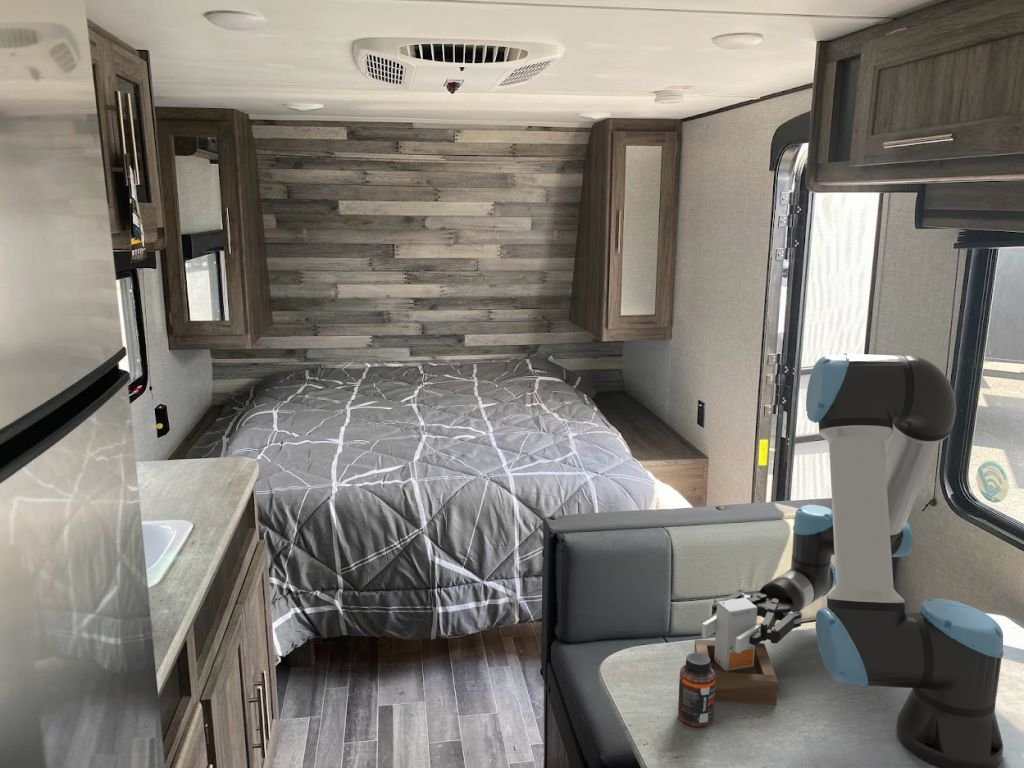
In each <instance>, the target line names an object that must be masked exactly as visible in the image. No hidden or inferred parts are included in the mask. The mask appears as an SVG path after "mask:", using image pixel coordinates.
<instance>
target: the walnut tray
mask: <svg viewBox="0 0 1024 768" xmlns="http://www.w3.org/2000/svg"><path fill="white" fill-rule="evenodd" d="M693 653H703V654H705V655H707V656H708V657H709V658H710V665H711V666H710V667H711V668H712V669H713V671H714V672H715V696H714V702H715V701H716V702H728V703H729V702H730V703H743V704H746V703H747V704H759V705H774V706H775V705H776V706H777V704H778V703H777V702H778V685H779V681H778V678H777V676H776V672H775V669H774V667H773V663H772V660H771V658H770V656H769V652H768V650H767V648H766V645H765V643H763V642H760V643H758V644H757V645H755V654H754V666H753V667H747V668H741V669H736V670H730V671H725V670H724V669H723V668H722V667H721V666H720V665H719V664H718V663H717V662H716V661H715V660H714V656H715V639H697V638H695V639H694V652H693Z"/></svg>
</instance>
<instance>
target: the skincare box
mask: <svg viewBox="0 0 1024 768" xmlns="http://www.w3.org/2000/svg"><path fill="white" fill-rule="evenodd" d="M716 602H717V617H716V632H715V635H714V636H715V639H714V640H715V656H714V660H715V661H716V662H717V663H718V664H719V665H720V666H721V667H722V668H723V669H724V670H725V671H730V670H736V669H741V668H747V667H753V666H754V654H755V645H751V646H749V647H748V648H746V649H745V650H743V651H742V652H740V653H737V652H735V644H736V637H738V636H740V635H741V634H743V633H744V632H746V631H747V630H749V629H750V628H752V627H753V626H755V625H757V623H758V622H757V620H758V619H757V618H758V616H757V607H756V606H755V605H754V604H753V603H751V602H750V601H749V600H748V599H747V598H740V599H730V600H727V601H721V602H718V601H716Z"/></svg>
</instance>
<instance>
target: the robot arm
mask: <svg viewBox="0 0 1024 768" xmlns="http://www.w3.org/2000/svg"><path fill="white" fill-rule="evenodd" d="M956 401H957V399H956V395H955V392H954V389H953V387H952V384H951V382H950V380H949V379H948V377H947V376H946V375H945V373H943V371H942V370H941V369H940V368H939V367H938V366H937V365H935V364H933V363H932V362H931V361H930V360H927V359H926V358H922V357H920V356H917V355H911V354H898V355H897V354H893V355H891V354H888V355H887V354H855V353H844V354H832V355H831V354H829V355H828V354H827V355H825V356H824V355H823V356H822V357H820V358H819V359H818V360H817V361H816V363H815V364H814V366H813V368H812V370H811V373H810V376H809V378H808V383H807V388H806V396H805V410H806V416H807V419H808V420H809V421H810V422H813V423H815V424H816V423H818V434H819V435H820V436H821V437H822V438H823V439H824V440H826V441H827V444H828V447H829V449H828V450H829V467H830V468H829V469H830V470H829V472H830V488H831V489H830V491H831V492H830V493H831V507H832V508H829V507H827V506H824V505H818V504H803V505H802V506H800V507H798V508H797V509H796V511H795V515H794V520H793V527H792V551H791V560H790V561H791V562H790V569H789V570H787V571H786V572H783V573H782V574H781V575H779V576H777V577H776V578H774V579H772V580H771V581H769V582H767V583H766V584H764V585H763V586H762V587H761V588H760V589H759V591H758V592H757V593H756V592H755V593H752V594H751V595H749V594H745V593H744V590H743V589H737V590H736V591H735V593H733V594H731V595H729V596H727V597H725V598H722V599H720V600H718V601H716V602H714V603H712V604H711V606H712V607H711V615H710V616H709V617H708V618H707V620H705V621H704V622H702V623H701V638H703V639H707V638H708V637H710V636H711V635H713V634H714V633H715V634H716V617H717V602H721V601H727V600H730V599H740V598H747V599H748V600H749V601H750V602H751V603H753V604H754V605H755V606H756V607H757V617H762V618H763V620H762V622H760V625H757V624H756V625H755V626H753V627H752V628H750V629H749V630H747V631H746V632H744V633H743V634H741V635H740V636H738V637H736V644H735V652H737V653H740V652H742V651H743V650H745V649H746V648H748V647H749V646H751V645H757V644H758V643H762V642H766V641H767V640H768V641H770V643H772V644H774V645H775V644H778V643H779V642H780V641H781V640H783V639H784V638H785V637H786V636H787V635H788V634H790V632H791V631H793V629H797V628H798V627H801V625H802V616H803V613H802V612H801V611H802V610H804V609H806V608H807V607H808V606H809V605H811V604H813V603H814V602H815V601H817V600H819V599H821V598H822V597H824V596H826V606H823V607H822V608H819V609H818V610H817V611H816V615H815V619H816V621H815V634H816V640H817V645H818V649H819V650H818V651H819V653H820V656H821V659H822V662H823V664H824V666H825V669H826V670H827V672H828V674H829V676H830V677H831V678H832V679H833V680H834V681H836V682H838V683H840V684H844V685H852V686H860V687H862V688H867V687H886V688H902V689H911V691H910V692H909V694H908V696H907V698H906V699H905V701H904V703H903V705H902V707H901V709H900V711H899V713H898V714H897V718H896V726H895V731H896V732H895V733H896V735H897V738H898V740H899V741H900V744H901V745H903V746H904V747H905V748H906V749H907V751H909V752H910V753H911V754H912V755H914V756H915V757H917V758H918V759H920V760H922V761H924V762H926V763H928V764H930V765H933V766H934V767H937V768H999V766H1001V764H1002V761H1003V754H1004V744H1003V743H1004V741H1003V739H1002V735H1001V732H1000V728H999V723H998V720H997V716H996V711H995V710H996V704H997V703H996V702H997V694H998V686H999V681H1000V672H1001V667H1002V659H1003V657H1004V633H1003V632H1004V631H1003V630H1002V628H1001V626H1000V624H999V623H998V622H997V621H996V620H995V619H994V618H993V617H992V616H990V615H988V614H987V613H985V612H983V611H982V610H979V608H978V609H977V608H975V607H973V606H970V605H968V604H966V603H962V602H959V601H956V600H951V599H947V598H946V599H945V598H940V597H939V598H937V597H935V598H934V597H933V598H928V599H925V600H923V601H922V602H921V604H920V605H919V611H906V602H905V601H906V600H905V599H904V598H903V597H902V596H901V595H900V594H899V593H898V592H897V591H896V589H895V588H894V576H893V560H892V558H894V557H895V558H899V557H902V558H903V557H907V556H908V554H910V553H911V550H912V547H913V545H912V544H913V533H912V532H913V531H912V529H911V526H910V524H909V522H907V521H908V518H909V516H910V513H911V511H912V509H913V506H914V505H915V502H916V499H917V496H918V494H919V491H920V490H921V487H922V484H923V482H924V479H925V476H926V474H927V472H928V470H929V467H930V466H931V465H930V464H931V462H932V460H933V457H934V455H935V453H936V451H937V448H938V445H939V443H940V442H941V441H944V440H945V439H946V438H948V436H949V435H950V433H951V431H952V429H953V426H954V424H955V420H956V416H957V403H956ZM889 437H890V439H889V442H888V444H887V447H886V450H885V442H886V440H887V439H888V438H889ZM832 556H834V564H833V563H832ZM833 588H834V589H833ZM829 592H830V593H829ZM777 621H778V623H776V622H777Z"/></svg>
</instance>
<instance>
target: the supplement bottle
mask: <svg viewBox="0 0 1024 768" xmlns="http://www.w3.org/2000/svg"><path fill="white" fill-rule="evenodd" d="M685 659H686V660H685V663H684V664H683V665H682V666H681V668H680V670H679V680H678V681H679V682H678V683H679V684H678V705H677V706H678V707H677V710H678V711H677V715H678V717H679V719H680V720H681V722H683V723H684V724H685V725H688V726H691V727H696V728H703V727H707V726H709V725H711V723H712V722H713V720H714V713H715V712H714V711H715V701H714V696H715V672H714V671H713V669H712V668H711V667H710V666H711V665H710V658H709V657H708V656H707V655H705V654H703V653H694V652H690V653H688V654H687V655H686V657H685Z"/></svg>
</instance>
